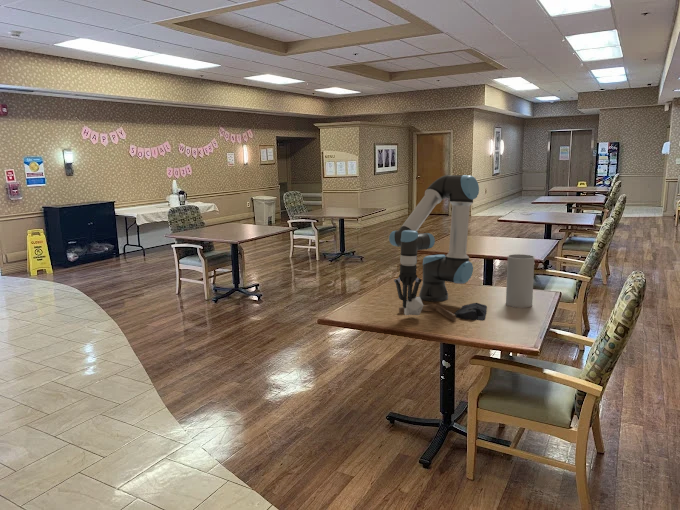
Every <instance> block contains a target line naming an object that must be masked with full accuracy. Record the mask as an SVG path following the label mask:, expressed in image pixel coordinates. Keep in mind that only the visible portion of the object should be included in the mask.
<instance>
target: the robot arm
mask: <svg viewBox="0 0 680 510" xmlns="http://www.w3.org/2000/svg"><path fill="white" fill-rule="evenodd" d="M479 192H480V187H479V182H478V181H477V178H476V177H475V176H473V175H467V174H456V175H454V174H453V175H452V174H447V175H446V174H445V175H442V176H440V177H438V178H437V179H436V180H434V181H433V182H432V183H431V184H430V185H429V186H428V187H427V188H426V190H425V191H424V196H423V197H422V198H421V200H420V201H419V202H418V203H417V205H416V206H415V208H414V209H413V211H412V212H411V213H410V214H409V216H408V217H407V218H406V220H405V221H404V222H403V224H402V225H401V227H400V228H399V229H398V230H393V231H391V232H390V234H389V235H388V241H389V243H390V244H391V246H393V247H394V246H395V247H397V248H398V247H399V248H400V255H399V256H400V258H399V259H400V260H399V262H400V265H399V275H398V278H396V279H395V278H394V279H393V282H394V283H395V285H396V290H397V294H398V299H399V300H401V301H402V307H403V308H404V313H403V315H405V316H409V310H408V307H407V306H408V304H409V301H412V298H416V297H417V294H418V291H419V286H420V284H421V283H422V285H421V288H420V291H419V295H418V297H420V298H421V301H424V302H425V301H426V302H443V301H444V302H445V301H447V300H448V299H449V293H448V289H447V286H446V282H449V283H455V284H461V285H462V284H463V285H464V284H466V283H468V281H469V280H470V279H471V277H473V276H472V275H473V272H474V266H473V262H471V261H469V260H470V256H469V255H468V254H467V246H468V234H469V220H470V219H469V218H470V206H472V205H473V204H474V200H476V199H477V198H478V195H479ZM445 199H449V200H448V201H449V203H450V205H451V216H450V217H451V219H450V232H449V247H448V252H447V254H430V255H426V256H424V257H423V259H422V265H421V266H422V279H421V278H419V277H418V275H417V264H418V251H423V250H429V249H432V248H433V247H434V246H435V243H436V238H435V236H434V235H433V234H432V233H430V232H424V233H423V232H418V231H419V229H420V228H421V226H422V225H423V223H425V221H426V219H427V218H428V216H429V215H430V214H431V213H432V211H433V210H434V208H435V207H436V206H437V205H438V204H440V203H441V202H443V200H445ZM401 283H402V287H401ZM407 299H408V300H407Z"/></svg>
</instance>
